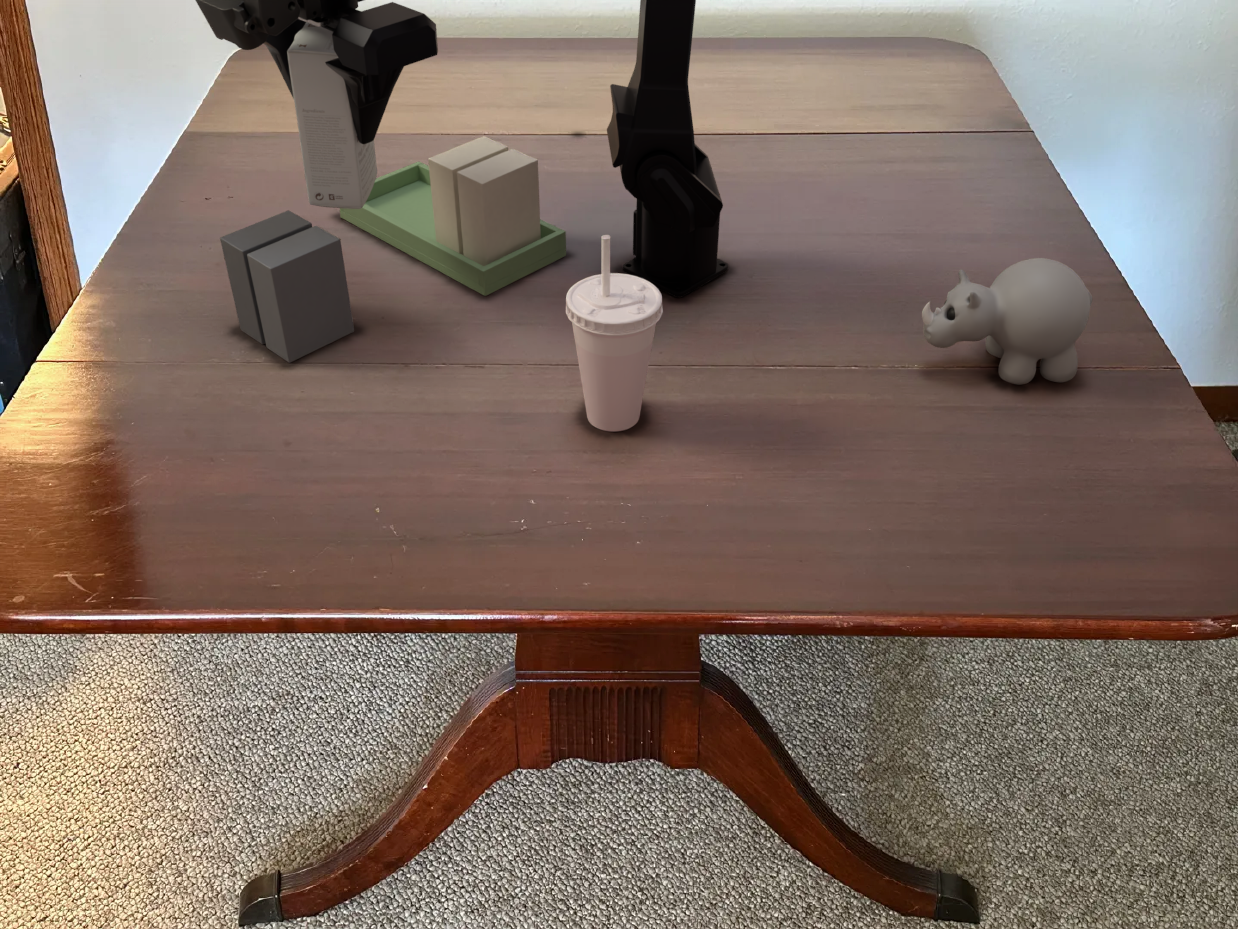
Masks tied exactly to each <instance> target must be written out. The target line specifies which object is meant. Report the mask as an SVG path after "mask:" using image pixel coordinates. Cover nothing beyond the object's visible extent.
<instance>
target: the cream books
mask: <svg viewBox="0 0 1238 929" xmlns="http://www.w3.org/2000/svg"><path fill="white" fill-rule="evenodd" d="M427 162H428V166H429V173H430V183H431V193H432V204H433V214H434V224H435V234H436V241H437V242H439V243H440V244H442V245H444V246H446V247H448V248H450V249H452V250H454V251H456V252H458V253H459V254H461V255H463V256H465V257H467V258H469V259H471V260H473V261H475V262H477V263H478V264H480V265H482V266H486V265H488V264H490V263H492V262H494V261H496V260H498V259H500V258H502V257H504V256H506V255H508V254H510V253H513V252H515V251H517V250H519V249H521V248H523V247H525V246H527V245H529V244H531V243H533V242H535V241H537V240H539V239H541V230H540V219H541V206H540V180H539V178H540V177H539V159H537V158H535V157H533V156H530V155H528V154H526V153H523V152H521V151H519V150H517V149H514V148H511V149H509V146H508V145H506V144H504V143H501V142H499V141H497V140H494V139H491V138H490V137H487V136H485V135H483V136H480V137H478V138H475V139H472V140H470V141H467V142H466V143H463V144H461V145H458V146H456V147H453V148H451V149H448V150H446V151H443V152H441V153H438V154H436V155H433V156H431V157H428V158H427Z"/></svg>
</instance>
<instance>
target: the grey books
mask: <svg viewBox="0 0 1238 929" xmlns="http://www.w3.org/2000/svg"><path fill="white" fill-rule="evenodd" d="M219 240H220V245H221V249H222V253H223V258H224V262H225V268H226V271H227V276H228V280H229V284H230V289H231V294H232V297H233V298H232V299H233V302H234V307H235V312H236V315H237V319H238V324H239V329H240V331H241V332H243V333H244V334H246V335H247V336H249V337H251V338H252V339H253V340H254V341H256V342H258V343H259V344H260V345H265V347H266V349H269V350H270V351H271V352H272V353H274V354H276V356H278V357H280V358H281V359H282V360H284V361H286V362H287V363H289V364H290V363H293V362H294V361H296V360H298V359H301V358H302V357H304V356H305V357H306V356H307V355H309V354H311V353H313V352H315V351H317V350H319V349H321V348H323V347H325V346H327V345H329V344H331V343H334V342H335V341H338V340H340V339H341V338H344V337H346V336H348V335H350V334H352V333H354V332H355V327H354V319H353V313H352V312H353V311H352V307H351V300H350V294H349V287H348V280H347V274H346V268H345V262H344V255H343V247H342V241H341V239H340V238H339V237H337V236H336V235H333V234H332V233H331V232H328V231H327V230H325V229H324V228H322V227H320V226H318V225H314V226H313V223H312V222H311V221H309V220H307V219H305V218H303V217H302V216H300V215H298V214H296V213H294V212H293V211H291V210H289V209H288V210H285V211H283V212H281V213H278V214H276V215H273V216H270V217H268V218H265V219H263V220H261V221H258V222H255V223H253V224H250V225H248V226H245V227H243V228H240V229H238V230H235V231H233V232H230V233H228V234H226V235H223V236H221V237H219Z"/></svg>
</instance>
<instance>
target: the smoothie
mask: <svg viewBox="0 0 1238 929" xmlns="http://www.w3.org/2000/svg"><path fill="white" fill-rule="evenodd" d="M600 238H601V239H600V240H601V241H600V242H601V244H600V245H601V246H600V247H601V250H600V252H601V256H600V258H601V261H600V262H601V267H600V268H601V269H600V270H601V272H600V274H595V275H591V276H588V277H585V278H583V279H580V280H579V281H577V282H575V283H574V284H573V285H572V286H571V287H570V288H569V289H568V291H567V293H566V296H565V297H566V298H565V314H566V316H567V318H568V320H569V321H570V322H571V324H572V326H571V327H572V333H573V338H574V344H575V349H576V351H575V352H576V357H577V362H578V369H579V376H580V382H581V386H582V387H581V388H582V393H583V394H582V395H583V400H584V407H585V412H586V413H585V414H586V418H587V421H588V422H589V424H590V425H591V426H593V427H594V428H596V429H598V430H601V431H604V432H622V431H626V430H629V429H631V428H632V427H634V426H635V425H636V424H637V423H638V422H639V420H640V416H641V409H642V405H643V399H644V393H645V388H646V387H645V386H646V381H647V375H648V370H649V364H650V359H651V352H652V348H653V342H654V337H655V330H656V324H657V322H659V321H660V319H661V318H662V315H663V314H664V310H663V296H662V293H661V291H660V289H658V288H657V287H656V286H654V285H653V284H652V283H651V282H649V281H647V280H645V279H643V278H640V277H637V276H633V275H629V274H627V273H618V272H611V236H610V235H609V234H603V235H602V236H600Z"/></svg>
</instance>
